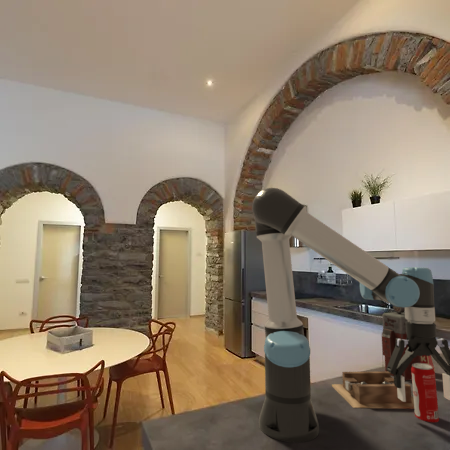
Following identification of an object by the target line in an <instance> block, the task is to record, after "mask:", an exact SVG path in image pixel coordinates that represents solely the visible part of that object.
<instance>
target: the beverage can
mask: <svg viewBox="0 0 450 450" xmlns="http://www.w3.org/2000/svg"><path fill="white" fill-rule="evenodd" d="M435 371H436V370H435ZM435 371H434V369H433V367H432V366H431V365H429V364H426V363H413V364H412V368H411V374H412V380H411V382H412V395H413V396H412V397H413V398H414V416H415V418H417V419H419V420H420V421H424V422H428V423H438V422H439V421H440V415H439V404H438V392H437V382H436V373H435Z"/></svg>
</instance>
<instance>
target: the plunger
mask: <svg viewBox="0 0 450 450" xmlns="http://www.w3.org/2000/svg"><path fill="white" fill-rule="evenodd" d="M352 384H367V383H366V382H361V383H350V382H349V381H345V387H346V389H347V390H348V391H351V388H352Z"/></svg>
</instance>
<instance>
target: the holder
mask: <svg viewBox="0 0 450 450" xmlns="http://www.w3.org/2000/svg"><path fill="white" fill-rule="evenodd" d="M345 381H349V382H350V383H361V382H366V383H367V384H352V388H351V391H348V390H347V389H346V387H345ZM384 381H386V382H388V383H392V384H382V382H384ZM331 386H332V388H333V389H334V390H335V391H336V393H338V394H339V395H340V397H342V398H343V399H344V401H346V402H347V403H348V404H349V405H350V406H351V407H352V408H353V409H396V410H397V409H400V410H401V409H409V410H410V409H412V410H413V409H414V397H413V396H412V386H411V385H410V384H408V383H405V397H406V402H403V401H401V400H400V399H399V398H398V395H397V387H395V385H394V377H393V376H391V373H390V372H388V371H385V370H384V371H383V370H382V371H381V370H380V371H374V370H373V371H342V383H341V384H340V383H339V384H338V383H336V384H331ZM414 410H415V409H414Z"/></svg>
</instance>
